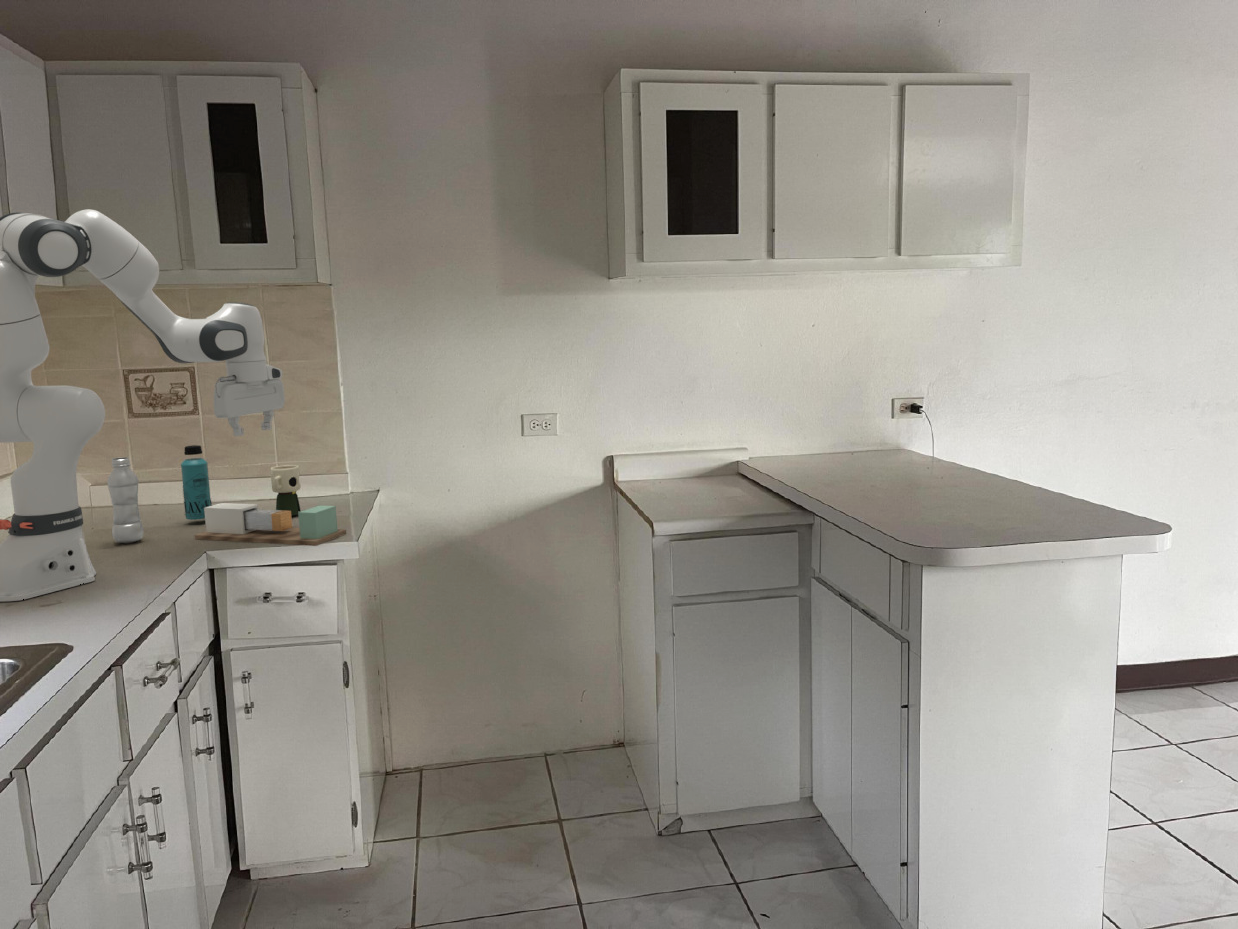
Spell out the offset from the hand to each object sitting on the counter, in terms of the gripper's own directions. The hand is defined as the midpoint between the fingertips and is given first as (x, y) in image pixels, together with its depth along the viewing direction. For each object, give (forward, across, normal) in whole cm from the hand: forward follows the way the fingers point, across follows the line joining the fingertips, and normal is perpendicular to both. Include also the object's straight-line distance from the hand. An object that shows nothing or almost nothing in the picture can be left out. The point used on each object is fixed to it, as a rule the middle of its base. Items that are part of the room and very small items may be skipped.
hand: (253, 432), depth 221 cm
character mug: (+26, +21, +10) cm, 35 cm away
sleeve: (+24, 0, +8) cm, 25 cm away
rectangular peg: (+23, 0, +3) cm, 23 cm away
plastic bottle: (+25, -13, +28) cm, 39 cm away
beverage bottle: (+25, +9, +27) cm, 38 cm away
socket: (+24, 0, -16) cm, 29 cm away
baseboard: (+25, 0, -2) cm, 25 cm away
